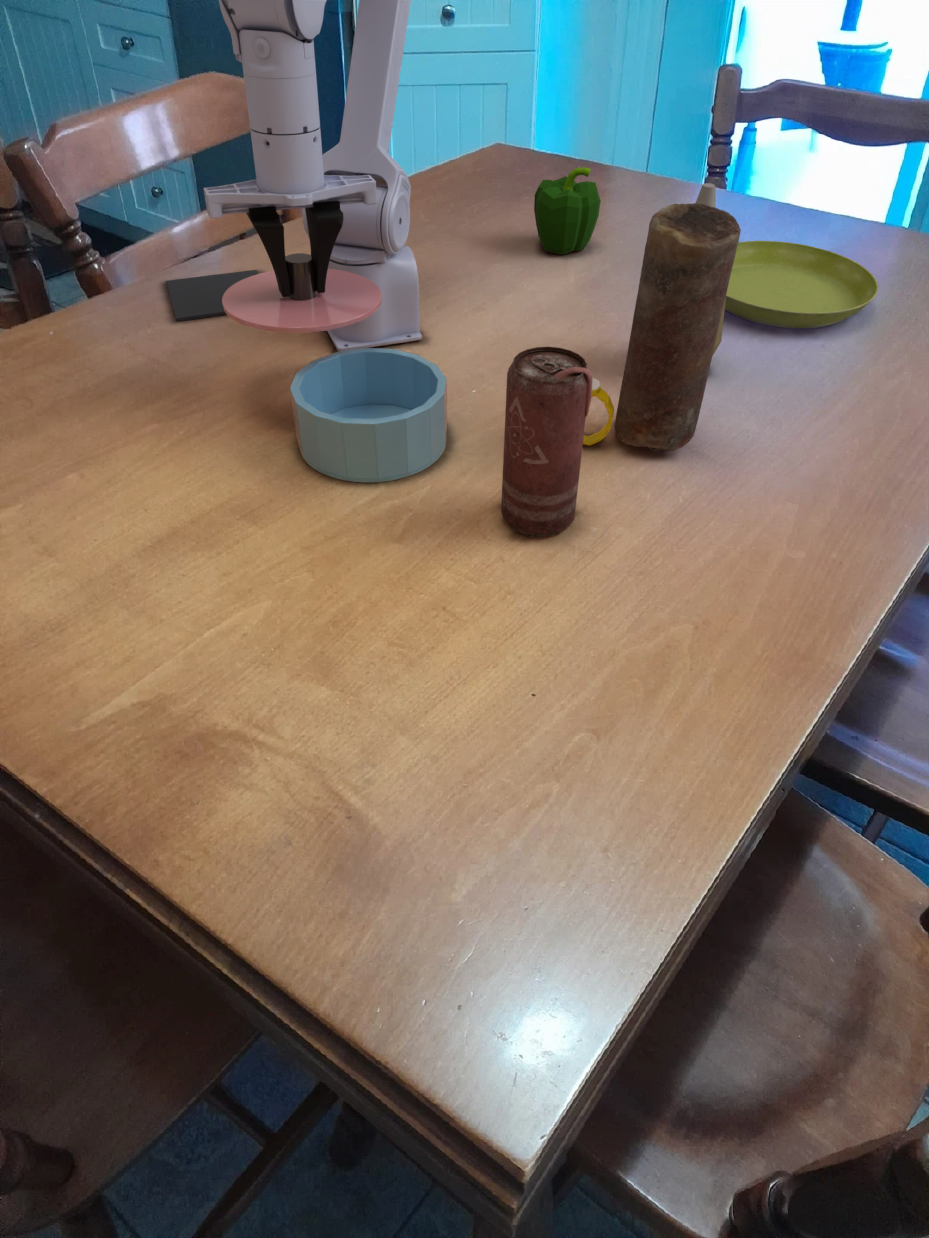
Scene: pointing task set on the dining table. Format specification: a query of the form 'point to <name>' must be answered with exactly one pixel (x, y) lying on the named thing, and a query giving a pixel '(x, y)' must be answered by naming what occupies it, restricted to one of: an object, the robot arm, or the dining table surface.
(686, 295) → the candle
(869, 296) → the saucer
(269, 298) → the lid
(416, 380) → the bowl
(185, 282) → the mat
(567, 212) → the bell pepper
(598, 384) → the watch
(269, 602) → the dining table surface
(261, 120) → the robot arm
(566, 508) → the can
